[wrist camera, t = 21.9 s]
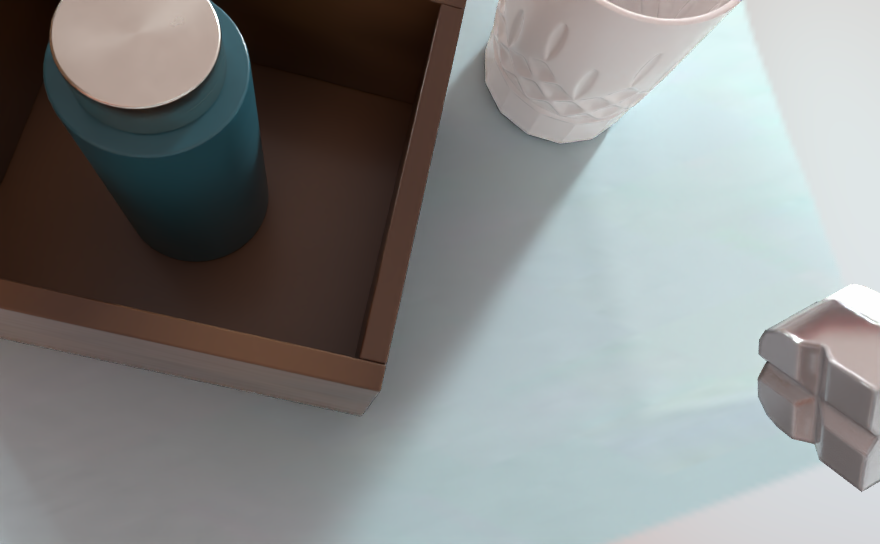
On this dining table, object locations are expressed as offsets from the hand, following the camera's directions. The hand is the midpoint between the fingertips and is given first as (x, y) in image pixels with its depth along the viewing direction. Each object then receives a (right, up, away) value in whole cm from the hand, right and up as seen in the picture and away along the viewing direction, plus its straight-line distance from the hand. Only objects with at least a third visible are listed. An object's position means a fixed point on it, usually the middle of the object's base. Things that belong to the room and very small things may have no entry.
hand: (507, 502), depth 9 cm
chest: (-10, +6, +20) cm, 23 cm away
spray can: (-10, +6, +19) cm, 23 cm away
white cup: (+4, +12, +25) cm, 28 cm away
